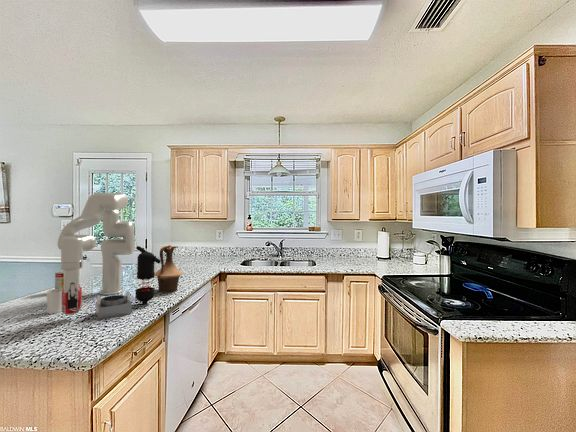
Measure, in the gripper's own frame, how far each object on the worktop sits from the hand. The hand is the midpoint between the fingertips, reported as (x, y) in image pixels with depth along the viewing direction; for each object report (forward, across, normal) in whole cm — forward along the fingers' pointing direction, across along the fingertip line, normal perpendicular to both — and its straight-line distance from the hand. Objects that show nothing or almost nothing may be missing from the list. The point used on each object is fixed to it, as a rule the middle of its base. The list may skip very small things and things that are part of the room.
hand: (71, 305), depth 125 cm
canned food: (+8, -56, -2) cm, 57 cm away
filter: (+7, -4, +32) cm, 33 cm away
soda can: (+4, 0, 0) cm, 4 cm away
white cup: (+7, -16, -6) cm, 18 cm away
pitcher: (+8, -26, +48) cm, 56 cm away
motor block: (+6, +2, +16) cm, 17 cm away
